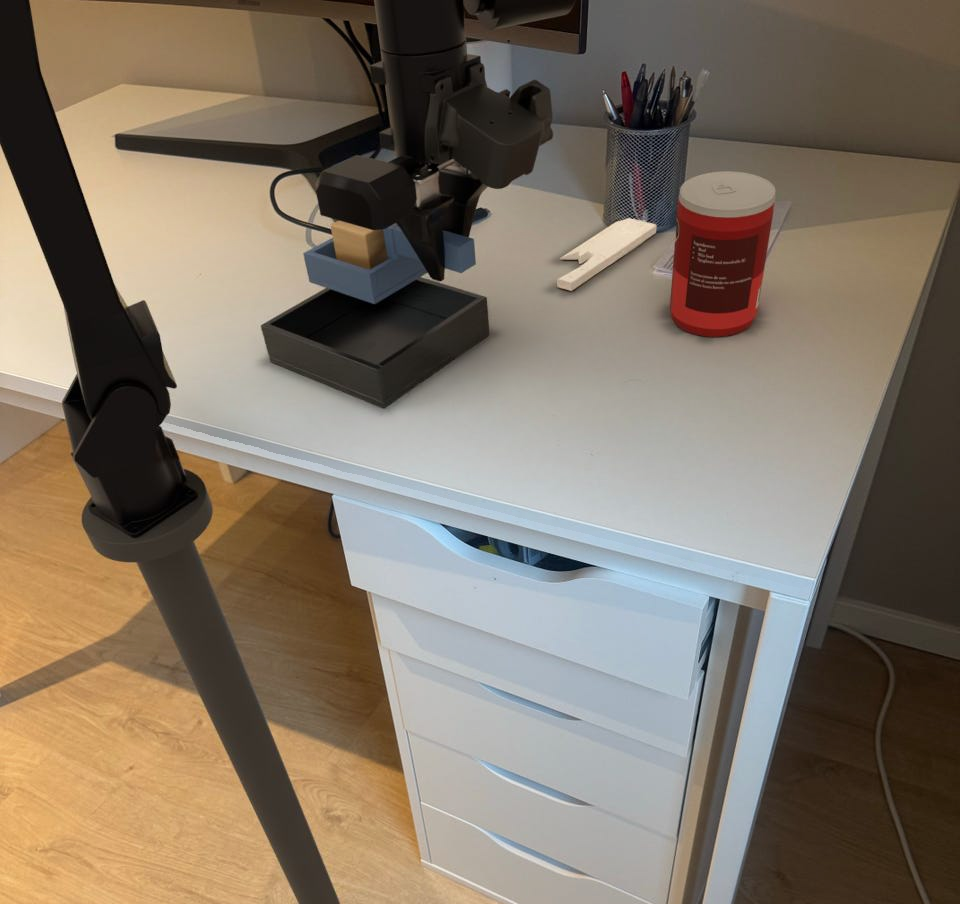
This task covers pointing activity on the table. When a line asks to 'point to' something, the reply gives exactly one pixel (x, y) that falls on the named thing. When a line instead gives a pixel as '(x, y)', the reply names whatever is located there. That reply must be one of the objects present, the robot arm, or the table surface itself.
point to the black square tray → (377, 338)
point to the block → (359, 245)
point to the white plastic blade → (605, 250)
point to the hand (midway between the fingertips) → (446, 274)
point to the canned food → (720, 252)
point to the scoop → (383, 266)
